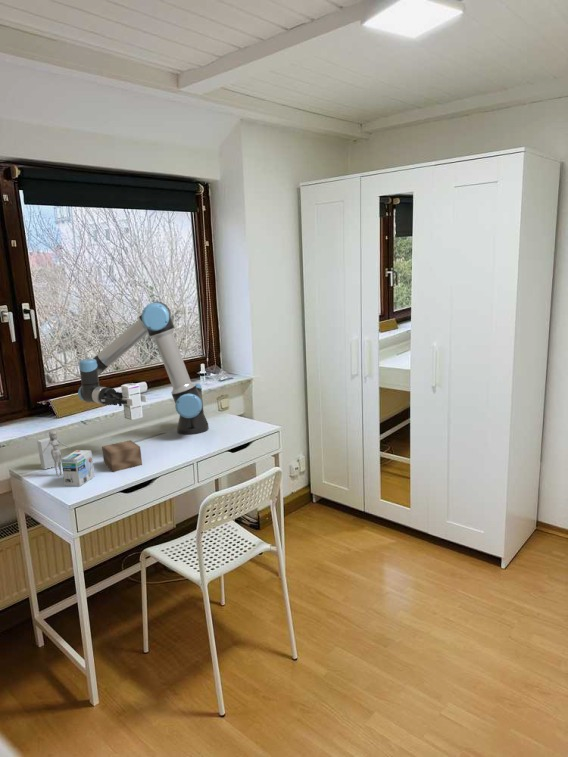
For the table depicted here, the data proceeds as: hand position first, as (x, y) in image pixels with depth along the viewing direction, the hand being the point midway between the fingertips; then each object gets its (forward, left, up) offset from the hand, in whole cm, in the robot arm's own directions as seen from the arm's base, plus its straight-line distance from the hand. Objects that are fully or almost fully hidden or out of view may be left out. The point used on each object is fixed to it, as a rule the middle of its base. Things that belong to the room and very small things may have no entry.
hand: (139, 400), depth 234 cm
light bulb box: (+31, +4, -25) cm, 40 cm away
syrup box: (+1, -5, -8) cm, 10 cm away
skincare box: (+31, -24, -25) cm, 46 cm away
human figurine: (+33, -11, -25) cm, 43 cm away
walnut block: (+11, 0, -25) cm, 27 cm away
